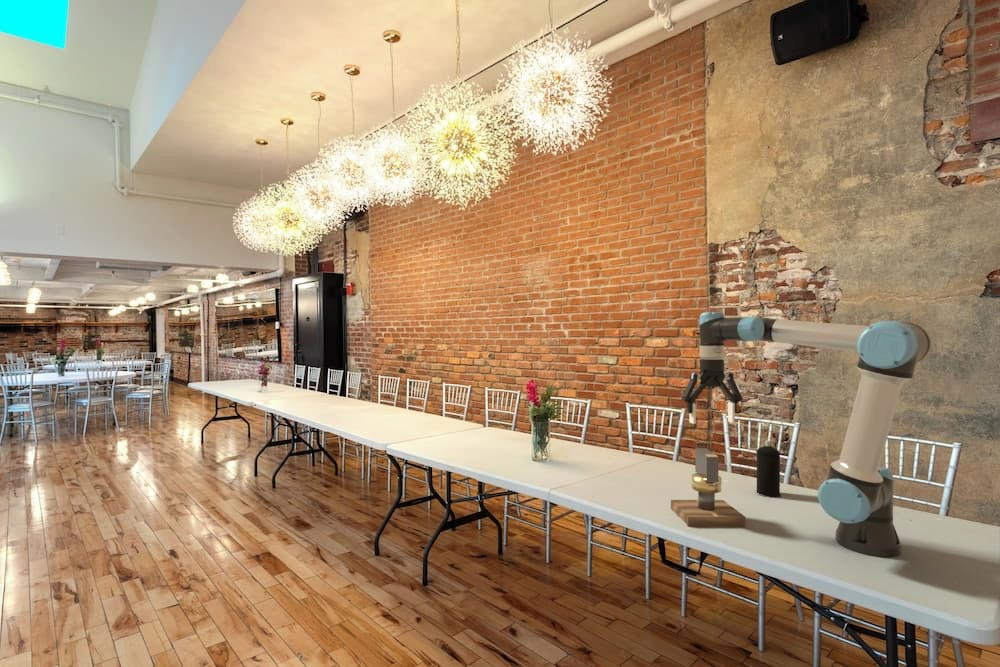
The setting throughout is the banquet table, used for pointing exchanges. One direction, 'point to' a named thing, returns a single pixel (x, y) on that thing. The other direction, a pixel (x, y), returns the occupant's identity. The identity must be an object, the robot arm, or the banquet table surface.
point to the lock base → (707, 511)
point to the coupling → (706, 472)
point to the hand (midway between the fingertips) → (712, 422)
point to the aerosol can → (768, 470)
